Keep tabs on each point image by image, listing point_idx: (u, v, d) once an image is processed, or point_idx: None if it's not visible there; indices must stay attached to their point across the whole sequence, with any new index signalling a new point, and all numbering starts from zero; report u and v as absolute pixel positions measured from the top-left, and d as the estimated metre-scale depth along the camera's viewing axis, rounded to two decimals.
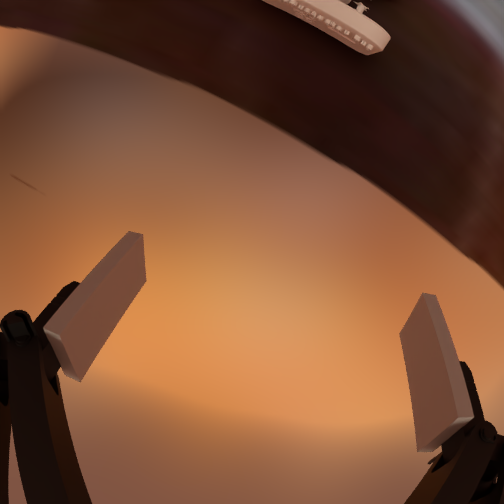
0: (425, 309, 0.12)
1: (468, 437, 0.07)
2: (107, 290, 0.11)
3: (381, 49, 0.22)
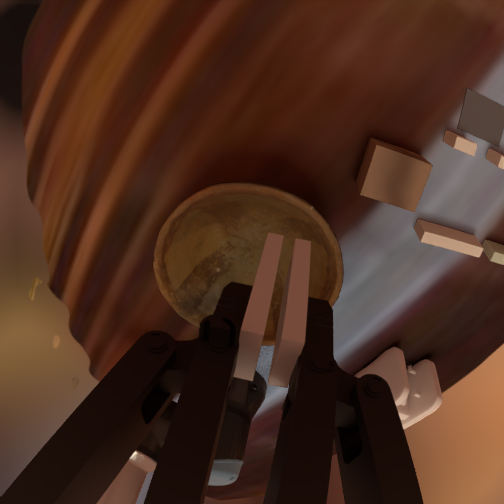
0: (293, 251, 0.15)
1: (298, 375, 0.09)
2: None
3: (441, 400, 0.42)
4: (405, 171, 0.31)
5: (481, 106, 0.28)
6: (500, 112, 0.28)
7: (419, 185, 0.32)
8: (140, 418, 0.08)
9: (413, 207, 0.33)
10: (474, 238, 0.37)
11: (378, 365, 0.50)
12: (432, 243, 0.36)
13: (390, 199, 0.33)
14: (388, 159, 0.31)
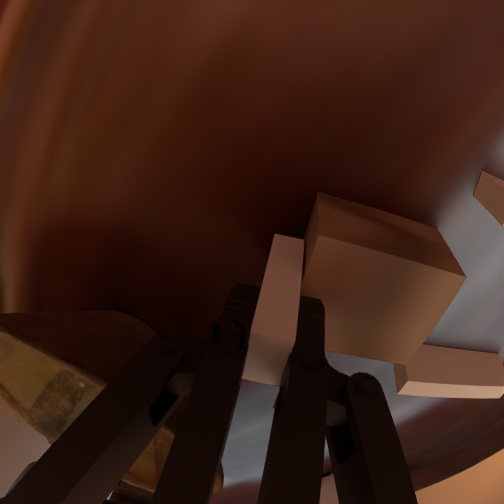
0: (286, 250, 0.15)
1: (288, 373, 0.09)
2: None
3: None
4: (395, 294, 0.13)
5: None
6: None
7: (426, 319, 0.13)
8: (147, 421, 0.08)
9: (405, 357, 0.15)
10: (498, 362, 0.18)
11: (330, 486, 0.32)
12: (420, 394, 0.18)
13: (353, 348, 0.15)
14: (353, 269, 0.12)
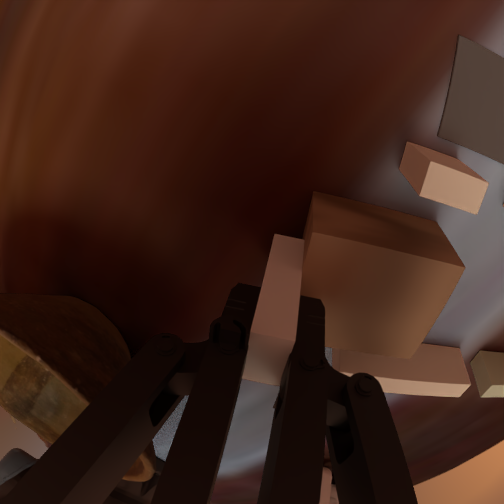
0: (286, 250, 0.15)
1: (288, 373, 0.09)
2: None
3: None
4: (394, 288, 0.13)
5: (497, 81, 0.10)
6: None
7: (427, 312, 0.13)
8: (147, 421, 0.08)
9: (409, 352, 0.14)
10: (457, 357, 0.19)
11: None
12: None
13: (355, 344, 0.15)
14: (349, 264, 0.12)
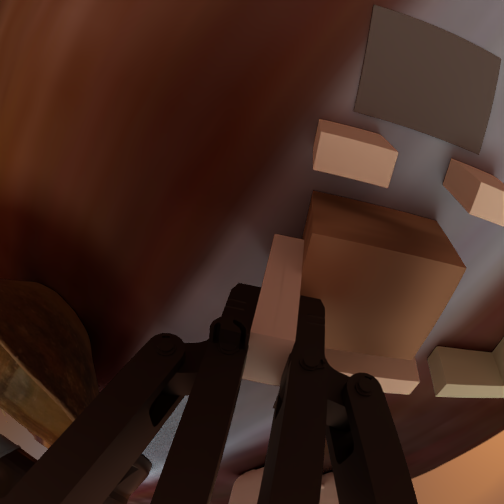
0: (286, 250, 0.15)
1: (288, 373, 0.09)
2: None
3: None
4: (394, 289, 0.13)
5: (423, 49, 0.11)
6: (480, 65, 0.10)
7: (428, 313, 0.13)
8: (147, 421, 0.08)
9: (410, 353, 0.14)
10: None
11: None
12: None
13: (356, 345, 0.15)
14: (350, 265, 0.12)
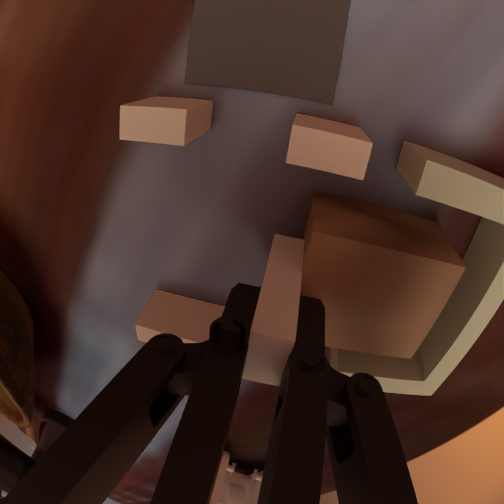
0: (286, 250, 0.15)
1: (288, 373, 0.09)
2: None
3: None
4: (394, 288, 0.13)
5: (249, 8, 0.11)
6: (321, 9, 0.11)
7: (428, 312, 0.13)
8: (147, 421, 0.08)
9: (409, 351, 0.14)
10: None
11: None
12: None
13: (356, 343, 0.15)
14: (350, 264, 0.12)
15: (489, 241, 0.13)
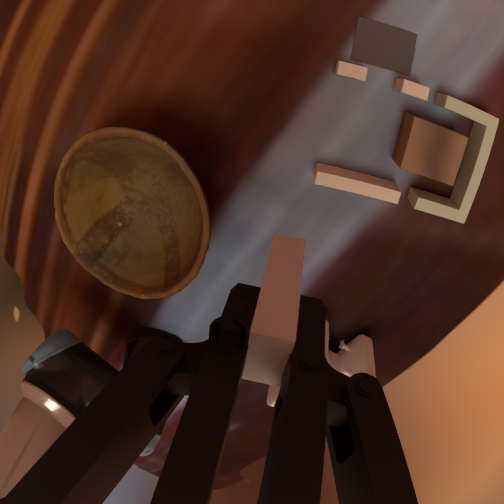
0: (287, 250, 0.15)
1: (288, 373, 0.09)
2: None
3: None
4: (443, 143, 0.28)
5: (379, 33, 0.27)
6: (406, 38, 0.26)
7: (456, 158, 0.29)
8: (147, 421, 0.08)
9: (451, 181, 0.30)
10: (392, 183, 0.35)
11: None
12: (330, 185, 0.34)
13: (429, 172, 0.30)
14: (427, 131, 0.28)
15: (476, 136, 0.29)
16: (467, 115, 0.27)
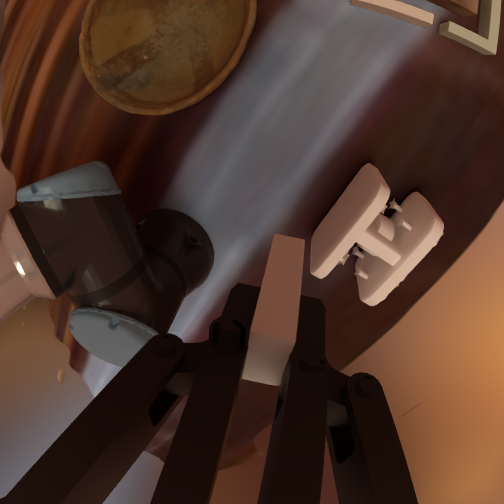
0: (287, 250, 0.15)
1: (288, 374, 0.09)
2: None
3: (443, 225, 0.33)
4: None
5: None
6: None
7: None
8: (147, 421, 0.08)
9: (475, 9, 0.22)
10: None
11: (347, 190, 0.41)
12: (368, 1, 0.26)
13: None
14: None
15: None
16: None
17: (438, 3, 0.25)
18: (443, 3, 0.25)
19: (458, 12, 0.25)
